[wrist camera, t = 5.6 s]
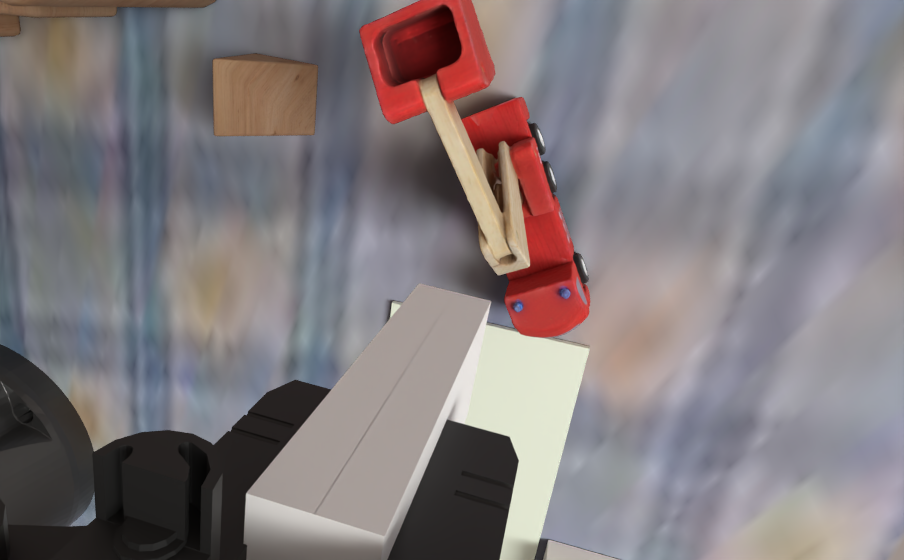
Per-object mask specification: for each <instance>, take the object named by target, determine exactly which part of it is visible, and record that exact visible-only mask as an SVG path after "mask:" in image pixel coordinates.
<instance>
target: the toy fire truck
mask: <svg viewBox="0 0 904 560" xmlns="http://www.w3.org/2000/svg"><path fill="white" fill-rule="evenodd" d="M359 32H360V37H361V40H362V44H363V48H364V51H365V55H366V58H367V61H368V65H369V68H370V72H371V75H372V79H373V82H374V85H375V88H376V92H377V97H378V99H379V103H380V106H381V110H382V112H383V115H384V116H385V118H386V119H387V121H389V122H390V123H392V124H395V123H398V122H401V121H403V120H406V119H409V118H411V117H413V116H417V115H419V114H421V113H424V112H429V114H430V116H431V118H432V121H433V123H434V125H435V127H436V130H437V132H438V134H439V136H440V138H441V140H442V143H443V145H444V147H445V149H446V152H447V154H448V156H449V158H450V160H451V163H452V165H453V167H454V169H455V172H456V174H457V176H458V178H459V181H460V183H461V185H462V187H463V189H464V192H465V194H466V196H467V200H468V201H469V203H470V205H471V207H472V209H473V211H474V214H475V216H476V218H477V220H478V233H479V244H480V249H481V252H482V254H483V256H484V257H485V259H486V260H487V262H488V263H489V264H490V266H491V267H492V268H493V270H494V271H495V273H496V274H497V275H502V274H506V275H507V277H508V280H509V284H508V287H507V290H506V294H505V297H504V302H505V304H506V307H507V310H508V312H509V315H510V317H511V319H512V323H513V325H514V327H515V328H516V329H517V331H518V332H519V333H520V334H521V335H525V336H529V337H537V338H551V337H557V336H561V335H564V334H566V333H568V332H570V331H572V330H574V329H575V328H576V327H577V326H579V325H580V324H581V323H582V322H583V321H584V320H585V319H586V318H587V316H588V315H589V306H590V295H589V290H588V287H587V286H586V285H585V284H584V283H586V282H587V281H588V280H589V278H588V273H587V269H586V266H585V263H584V260H583V258H582V256H581V254H579V253H574V246H573V243H572V241H571V238H570V234H569V231H568V228H567V225H566V223H565V219H564V217H563V213H562V211H561V208H560V205H559V202H558V199H557V197H556V196H555V195H554V194H553V192H556V191H557V184H556V180H555V177H554V173H553V170H552V168H551V166H550V164H549V162H547V161H546V162H544V161H541V158H540V155H543V154H544V153H545V150H546V149H545V144H544V141H543V138H542V134H541V132H540V130H539V128H538V126H537V124H536V123H533V124H528V123H527V120H528V119H529V112H528V109H527V106H526V103H525V100H524V98H522V97H519V98H513V99H511V100H509V101H507V102H504V103H501V104H499V105H496V106H493V107H491V108H488V109H486V110H483V111H480V112H478V113H475V114H473V115H470V116H468V117H465V118H463V119H461V118H460V116H459V114H458V111H457V109H456V106H455V104H454V100H457V99H460V98H462V97H465V96H468V95H469V94H471V93H475V92H478V91H480V90H482V89H485V88H486V87H488V86H489V85H490V83H491V81H492V80H493V78H494V75H495V69H494V64H493V62H492V60H491V57H490V54H489V51H488V48H487V45H486V42H485V39H484V35H483V32H482V30H481V28H480V25H479V22H478V19H477V15H476V13H475V9H474V6H473V3H472V1H471V0H420V1H418V2H415V3H413V4H411V5H409V6H407V7H404V8H402V9H400V10H398V11H396V12H394V13H391V14H389V15H387V16H385V17H383V18H381V19H378V20H375V21H373V22H371V23H369V24H366V25H364V26H362V27H361V28H360V30H359Z"/></svg>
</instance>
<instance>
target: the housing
mask: <svg viewBox="0 0 904 560" xmlns="http://www.w3.org/2000/svg"><path fill="white" fill-rule="evenodd" d="M543 560H619V559H615V558H612V557H608V556H605V555H601V554H598V553H594V552H591V551H587V550H584V549H580V548H577V547H573V546H570V545H566V544H563V543H559V542H556V541H552V540H548V543H547V547H546V550H545V554H544V558H543Z"/></svg>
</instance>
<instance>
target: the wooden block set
mask: <svg viewBox="0 0 904 560" xmlns="http://www.w3.org/2000/svg"><path fill="white" fill-rule="evenodd" d="M215 1H216V0H0V37H7V36H16V35H18V34H20V31H21V29H20V22H19V16H25V17H36V18H42V17H112V16H115V15H116V13H117V7H174V8H198V7H206V6H208V5H210V4H212V3H214V2H215ZM317 78H318V66H317V65H314V64H309V63H304V62H299V61H293V60H288V59H283V58H278V57H272V56H267V55H262V54H257V53H255V54H247V55H239V56H231V57H224V58H216V59H213V117H214V135H215V136H279V135H314V134H315V116H316V97H317Z"/></svg>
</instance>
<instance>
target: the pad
mask: <svg viewBox="0 0 904 560" xmlns="http://www.w3.org/2000/svg"><path fill="white" fill-rule="evenodd" d="M402 304H403V303H401V302H397V301H393V302H392V306H391V314H390V318H391V317H392V316H393V314H394V313H395V312H396V311H397V310H398V308H399V307H400V306H401V305H402ZM589 349H590V346H586V345H582V344H578V343H573V342H569V341H565V340H560V339H556V338H552V337H551V338H537V337H529V336H525V335H521V334H520V333H519V332H518V331H517V329H513V328H509V327H505V326H500V325H496V324H492V323H486V328H485V332H484V337H483V342H482V347H481V352H480V356H479V361H478V366H477V371H476V376H475V380H474V385H473V390H472V395H471V400H470V405H469V409H468V414H467V418H466V420H465V423H464V424H466V425H469V426H473V427H476V428H480V429H484V430H487V431H491V432H494V433H498V434H502V435H505V436H509V437H510V439H511V442H512V444H513V447H514V449H515V452H516V454H517V457H518V460H519V463H518V468H517V473H516V478H515V483H514V488H513V494H512V499H511V504H510V508H509V514H508V519H507V524H506V529H505V534H504V539H503V545H502V550H501V555H500V560H534V558H535V555H536V551H537V547H538V543H539V539H540V536H541V532H542V528H543V524H544V520H545V517H546V513H547V509H548V505H549V501H550V498H551V494H552V490H553V486H554V482H555V479H556V475H557V471H558V467H559V463H560V460H561V456H562V452H563V448H564V444H565V441H566V437H567V433H568V429H569V425H570V422H571V418H572V414H573V410H574V406H575V402H576V399H577V395H578V391H579V387H580V383H581V380H582V376H583V372H584V368H585V364H586V361H587V357H588V353H589Z"/></svg>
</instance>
